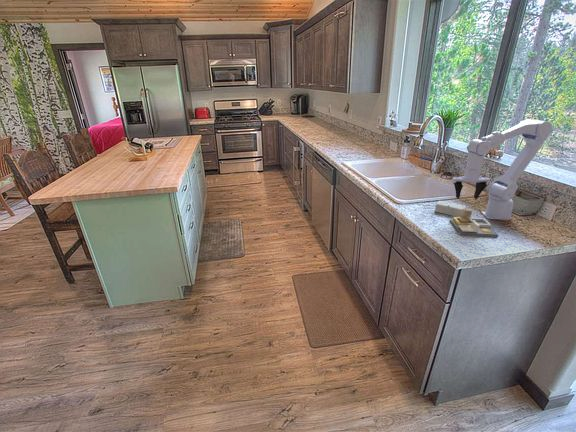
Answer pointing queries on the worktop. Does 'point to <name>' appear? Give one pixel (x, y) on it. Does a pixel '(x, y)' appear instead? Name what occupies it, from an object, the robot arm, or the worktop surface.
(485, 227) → the board
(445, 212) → the skincare box
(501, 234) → the worktop surface
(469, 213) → the beige small block
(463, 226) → the cover
